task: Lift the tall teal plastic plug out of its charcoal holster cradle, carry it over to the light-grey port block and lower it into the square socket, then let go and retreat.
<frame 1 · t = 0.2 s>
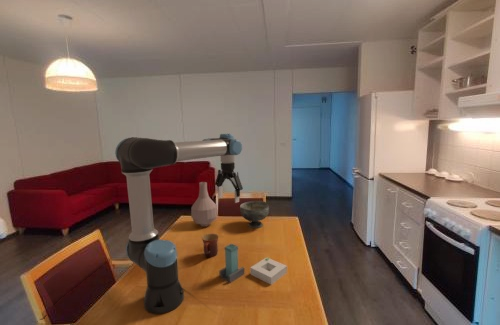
hand: (228, 199, 143), 28 cm above the table, fingers open, 13 cm apart
holster: (232, 276, 118), on the table
bowl: (254, 225, 177), on the table
port: (268, 274, 119), on the table
mug: (209, 256, 136), on the table
plug: (232, 275, 118), point 1 cm above the table, touching holster
vase: (204, 224, 180), on the table
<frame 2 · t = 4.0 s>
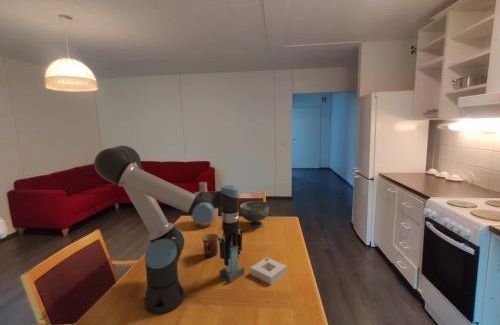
hand: (231, 268, 117), 4 cm above the table, fingers closed on plug, 4 cm apart
plug: (232, 275, 118), point 1 cm above the table, touching gripper, holster
everything else where it was.
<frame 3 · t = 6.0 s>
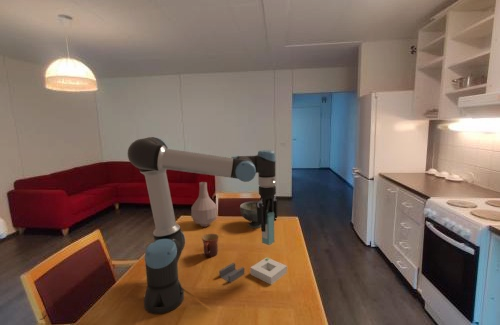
hand: (268, 235, 116), 19 cm above the table, fingers closed on plug, 4 cm apart
plug: (268, 242, 117), point 16 cm above the table, touching gripper
everything else where it was.
when the fingers open (5 cm above the table, at t = 8.4 s): plug drops 2 cm, resting in port.
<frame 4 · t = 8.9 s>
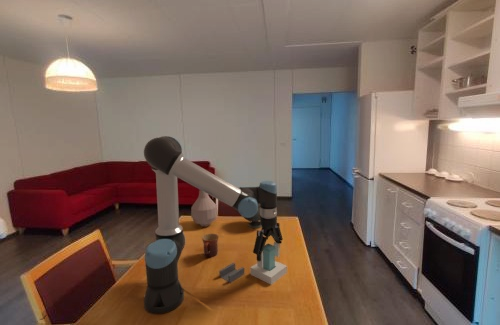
hand: (268, 261, 118), 7 cm above the table, fingers open, 11 cm apart
plug: (268, 274, 119), resting in port
everything else where it was.
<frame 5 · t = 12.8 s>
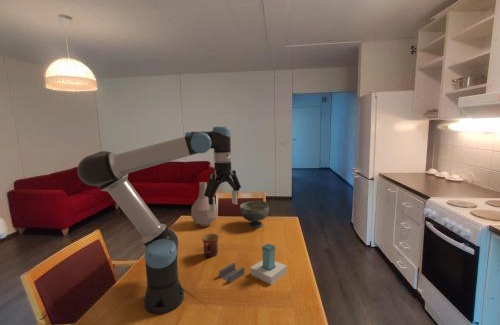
hand: (224, 207, 117), 32 cm above the table, fingers open, 13 cm apart
nothing on the table moved.
at the end: plug 0.1 cm off-centre on the port, point 0.0 cm above the port's base; plug tilted 0°; the gripper is holding nothing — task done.
